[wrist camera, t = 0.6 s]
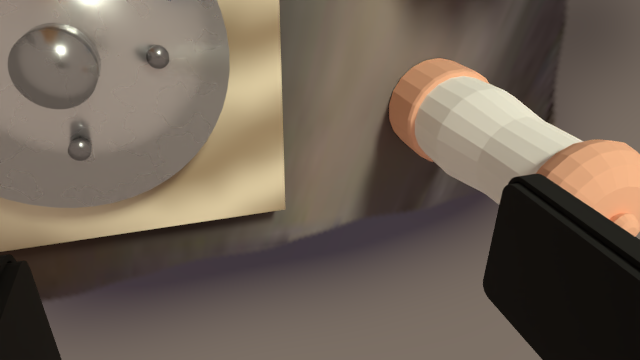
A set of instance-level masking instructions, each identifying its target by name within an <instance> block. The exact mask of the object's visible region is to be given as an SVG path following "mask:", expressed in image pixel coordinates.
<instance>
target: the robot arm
mask: <svg viewBox="0 0 640 360" xmlns="http://www.w3.org/2000/svg"><path fill="white" fill-rule="evenodd" d="M483 287H484V291H485V293H486V295H487V297H488V298H489V299H490V300H491V302H493V304H494V305H495V306H496V307H497V308H498V309H499V311H500V312H501V313H502V314H503V315H504V316H505V317H506V319H507V320H508V321H509V322H510V323H511V324H512V325H513V327H514V328H515V329H516V330H517V331H518V332H519V333H520V335H521V336H522V337H523V338H524V339H525V340H526V341H527V342H528V344H529V345H530V346H531V347H532V348H533V349H534V350H535V352H536V353H537V354H538V355H539V356H540V357H541V358H542V359H543V360H640V240H639V239H638V238H636V237H635V236H633V235H632V234H630V233H629V232H627V231H626V230H624V229H623V228H621V227H620V226H618V225H617V224H615V223H614V222H612V221H611V220H609V219H608V218H606V217H605V216H603V215H602V214H600V213H599V212H597V211H596V210H594V209H593V208H591V207H590V206H588V205H587V204H585V203H584V202H582V201H581V200H579V199H578V198H576V197H575V196H573V195H572V194H570V193H569V192H567V191H566V190H564V189H563V188H561V187H560V186H558V185H557V184H555V183H554V182H553V181H551V180H550V179H548V178H547V177H545V176H543V175H541V174H531V175H524V176H518V177H514V178H512V179H511V180H510V181H509V183H508V185H506V186H505V187H504V188H503V191H502V195H501V200H500V205H499V209H498V214H497V218H496V223H495V229H494V232H493V237H492V242H491V246H490V251H489V256H488V260H487V265H486V270H485V275H484V279H483ZM0 360H61V357H60V354H59V351H58V349H57V345H56V342H55V340H54V337H53V334H52V331H51V328H50V326H49V322H48V319H47V316H46V314H45V311H44V308H43V305H42V302H41V299H40V296H39V293H38V290H37V287H36V285H35V282H34V279H33V276H32V273H31V270H30V267H29V265H28V263H27V262H26V261H19V262H16V261H15V259H14V257H13V256H12V255H9V254H8V255H2V256H0Z"/></svg>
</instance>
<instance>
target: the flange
mask: <svg viewBox="0 0 640 360" xmlns="http://www.w3.org/2000/svg"><path fill="white" fill-rule="evenodd" d="M229 72H230V63H229V45H228V38H227V31H226V27H225V24H224V20H223V17H222V13H221V9H220V7H219V5H218V2H217V0H0V197H1V198H4V199H7V200H11V201H16V202H20V203H25V204H29V205H36V206H44V207H53V208H80V207H93V206H99V205H105V204H110V203H115V202H118V201H122V200H125V199H128V198H131V197H134V196H137V195H139V194H141V193H144V192H146V191H148V190H151V189H152V188H154V187H156V186H158V185H159V184H161V183H163V182H164V181H166V180H168V179H169V178H170V177H172V176H173V175H174V174H176V173H177V172H178V171H180V170H181V169H182V168H183V167H184V166H185V165H186V164H187V163H188V162H189V161H190V160H191V159H192V158H193V157H194V156H195V155H196V154H197V153H198V151H199V150H200V149H201V148H202V146H203V145H204V144H205V142H206V141H207V139H208V138H209V136H210V134H211V133H212V131H213V129H214V127H215V126H216V123H217V121H218V118H219V116H220V114H221V111H222V109H223V105H224V101H225V97H226V93H227V89H228V80H229Z"/></svg>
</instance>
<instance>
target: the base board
mask: <svg viewBox="0 0 640 360" xmlns="http://www.w3.org/2000/svg"><path fill="white" fill-rule="evenodd" d="M217 2H218V5H219V7H220V9H221V13H222V17H223V20H224V24H225V27H226V31H227V38H228V45H229V63H230V72H229V80H228V89H227V93H226V97H225V101H224V105H223V109H222V111H221V114H220V116H219V118H218V121H217V123H216V126H215V127H214V129H213V131H212V133H211V134H210V136H209V138H208V139H207V141H206V142H205V144H204V145H203V146H202V148H201V149H200V150H199V151H198V153H197V154H196V155H195V156H194V157H193V158H192V159H191V160H190V161H189V162H188V163H187V164H186V165H185V166H184V167H183V168H182V169H181V170H180V171H178V172H177V173H176V174H174V175H173V176H172V177H170V178H169V179H168V180H166V181H164V182H163V183H161V184H159V185H158V186H156V187H154V188H152V189H151V190H148V191H146V192H144V193H141V194H139V195H137V196H134V197H131V198H128V199H125V200H122V201H118V202H115V203H110V204H105V205H99V206H93V207H80V208H53V207H44V206H36V205H29V204H25V203H20V202H16V201H11V200H7V199H4V198H1V197H0V252H3V251H9V250H16V249H23V248H29V247H36V246H43V245H50V244H56V243H63V242H70V241H76V240H83V239H90V238H96V237H103V236H110V235H117V234H123V233H130V232H137V231H143V230H150V229H157V228H163V227H170V226H177V225H184V224H190V223H197V222H204V221H210V220H217V219H224V218H231V217H237V216H244V215H251V214H257V213H264V212H271V211H277V210H284V209H285V183H284V149H283V115H282V81H281V46H280V12H279V0H217Z"/></svg>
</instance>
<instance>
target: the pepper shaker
mask: <svg viewBox="0 0 640 360" xmlns="http://www.w3.org/2000/svg"><path fill="white" fill-rule="evenodd" d="M389 120H390V123H391V125H392V128H393V131H394V132H395V133H396V134H397V136H398V137H399V138H400V139H401V140H402V141H403V142H404V143H405V144H407V145H408V146H409V147H410V148H411V149H412V150H414V151H415V152H416V153H417V154H418V155H419V156H421V157H423V158H425V159H427V160H429V161H431V162H435V163H436V164H437V165H438V166H439V167H440V168H442V169H443V170H444V171H445V172H446V173H447V174H448V175H450V176H452V177H454V178H456V179H458V180H460V181H462V182H464V183H466V184H468V185H469V186H471V187H473V188H475V189H477V190H479V191H481V192H483V193H485V194H486V195H488V196H489V197H490V198H491V199H493V200H494V201H495V202H496V203H498V204H499V205H500V200H501V195H502V191H503V188H504V187H505V186H506V185H508V183H509V181H510V180H511V179H512V178H514V177H518V176H524V175H531V174H541V175H543V176H545V177H547V178H548V179H550V180H551V181H553V182H554V183H555V184H557V185H558V186H560V187H561V188H563V189H564V190H566V191H567V192H569V193H570V194H572V195H573V196H575V197H576V198H578V199H579V200H581V201H582V202H584V203H585V204H587V205H588V206H590V207H591V208H593V209H594V210H596V211H597V212H599V213H600V214H602V215H603V216H605V217H606V218H608V219H609V220H611V221H612V222H614V223H615V224H617V225H618V226H620V227H621V228H623V229H624V230H626V231H627V232H629V233H630V234H632V235H633V236H635V237H636V236H637V234H638V233H639V232H640V154H639V153H638V152H637V151H635V150H634V149H633V148H631V147H630V146H628V145H627V144H626V143H624V142H616V141H609V140H599V139H595V140H588V141H581V140H580V139H578V138H576V137H574V136H572V135H570V134H568V133H566V132H564V131H562V130H560V129H558V128H557V127H555V126H553V125H551V124H549V123H547V122H545V121H543V120H542V119H541V118H540V117H538V116H537V115H536V114H535V113H534V112H532V111H531V110H530V109H529V108H527V107H526V106H525V105H524V104H523V103H521V102H520V101H519V100H518V99H516V98H515V97H514V96H512V95H511V94H509V93H508V92H506V91H505V90H502V89H500V88H498V87H495V86H493V85H491V84H489V82H488V81H487V79H486V78H485V77H483V76H482V75H480V74H479V73H477V72H476V71H473V70H471V69H469V68H467V67H465V66H463V65H461V64H458V63H456V62H454V61H452V60H447V59H442V58H436V59H430V60H425V61H423V62H421V63H419V64H418V65H416V66H414V67H412V68H411V69H410V70H409V71H408V72H407V73H406V74H405V75H404V76H403V77H402V78H401V79H400V81H399V82H398V84H397V85H396V87H395V89H394V90H393V93H392V97H391V100H390V104H389Z"/></svg>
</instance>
